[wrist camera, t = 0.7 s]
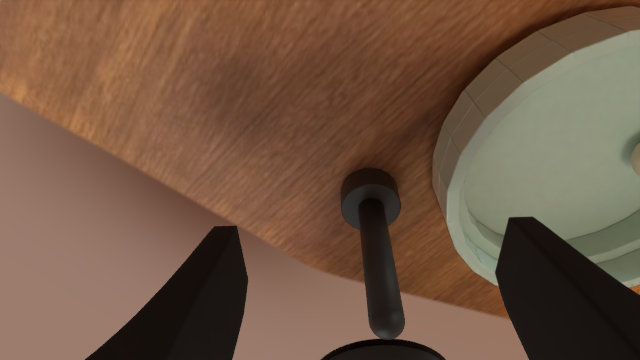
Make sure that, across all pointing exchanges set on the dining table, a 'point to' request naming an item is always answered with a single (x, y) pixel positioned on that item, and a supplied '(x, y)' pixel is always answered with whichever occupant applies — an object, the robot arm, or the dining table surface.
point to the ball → (636, 159)
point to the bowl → (549, 145)
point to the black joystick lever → (376, 245)
